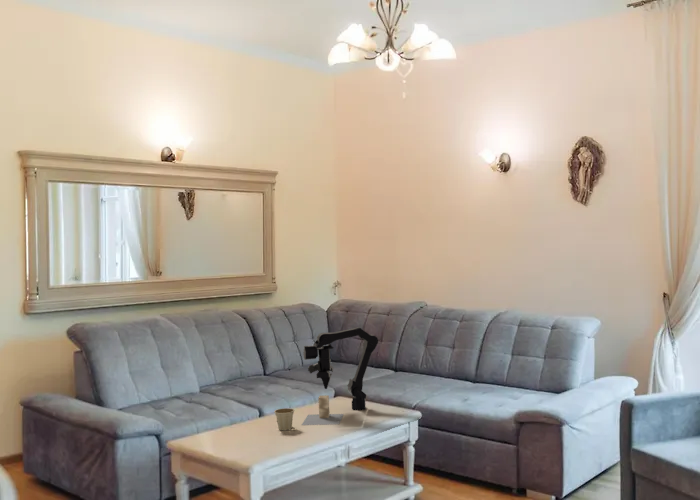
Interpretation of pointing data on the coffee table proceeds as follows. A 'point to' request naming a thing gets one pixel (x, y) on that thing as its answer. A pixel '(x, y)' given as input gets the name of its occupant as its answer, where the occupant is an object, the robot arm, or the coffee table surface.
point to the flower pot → (284, 418)
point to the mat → (323, 420)
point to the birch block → (324, 406)
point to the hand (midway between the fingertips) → (325, 388)
